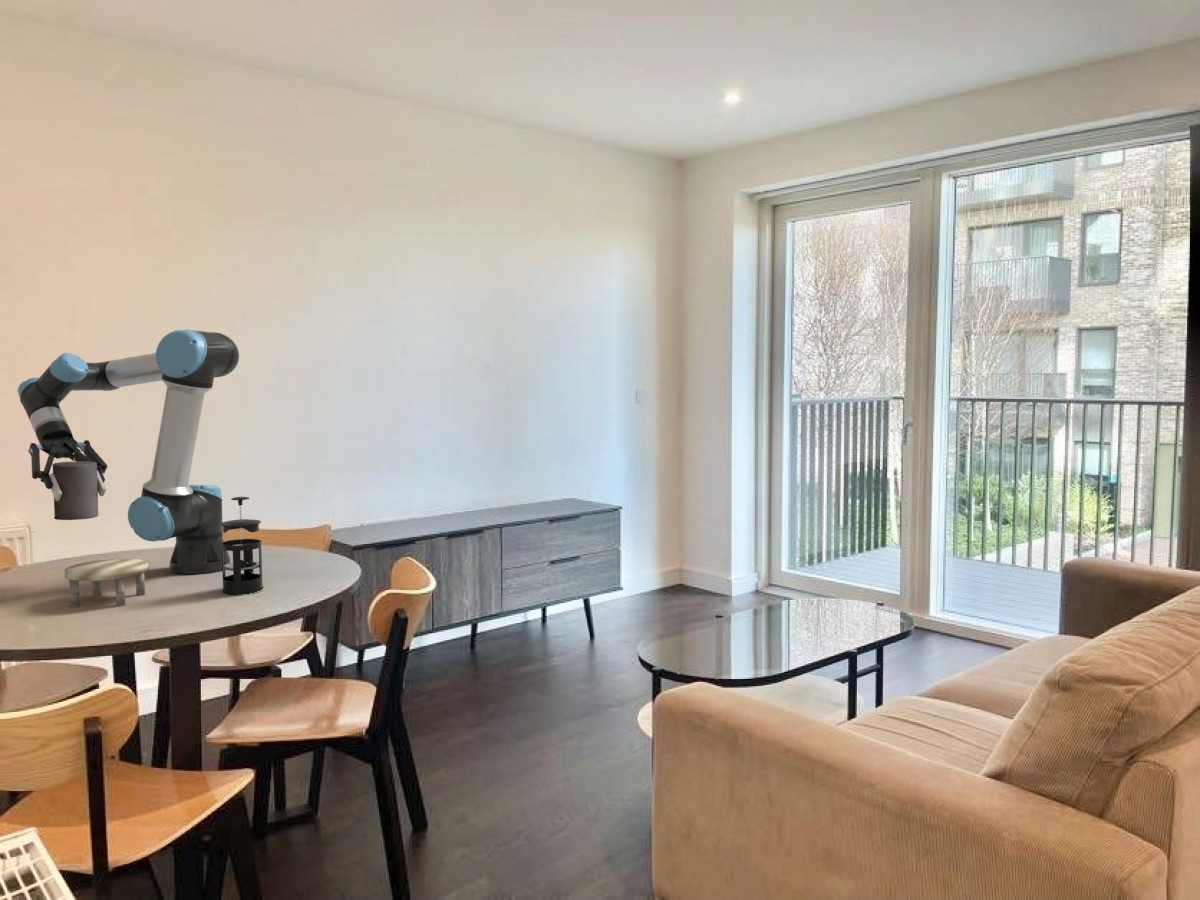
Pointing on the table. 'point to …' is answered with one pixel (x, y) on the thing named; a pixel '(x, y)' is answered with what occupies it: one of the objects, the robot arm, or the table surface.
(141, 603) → the table surface
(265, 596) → the table surface
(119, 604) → the beige round legged stand
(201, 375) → the robot arm
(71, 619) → the table surface
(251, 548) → the french press
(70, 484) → the pillar candle
